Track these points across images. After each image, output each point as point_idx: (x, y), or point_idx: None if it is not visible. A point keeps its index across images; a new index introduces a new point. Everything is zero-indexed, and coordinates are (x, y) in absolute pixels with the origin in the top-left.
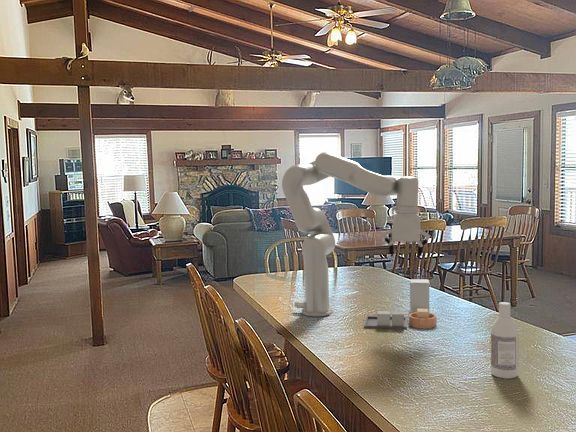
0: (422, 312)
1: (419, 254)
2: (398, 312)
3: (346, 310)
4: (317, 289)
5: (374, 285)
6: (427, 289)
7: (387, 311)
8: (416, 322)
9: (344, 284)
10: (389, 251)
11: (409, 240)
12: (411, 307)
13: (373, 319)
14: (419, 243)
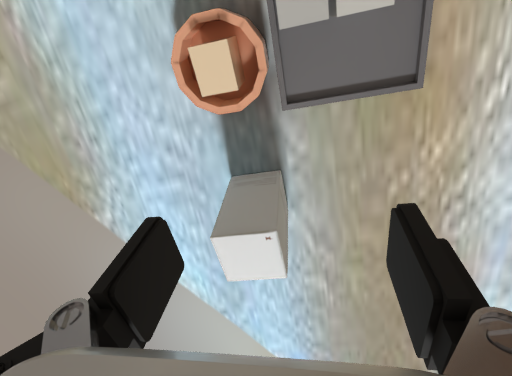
0: (209, 43)
1: (136, 233)
2: (300, 8)
3: (483, 171)
4: None
5: (387, 362)
6: (221, 220)
7: (349, 11)
8: (232, 12)
9: None
10: (452, 252)
11: (143, 371)
12: (277, 180)
13: (394, 73)
14: (66, 340)
